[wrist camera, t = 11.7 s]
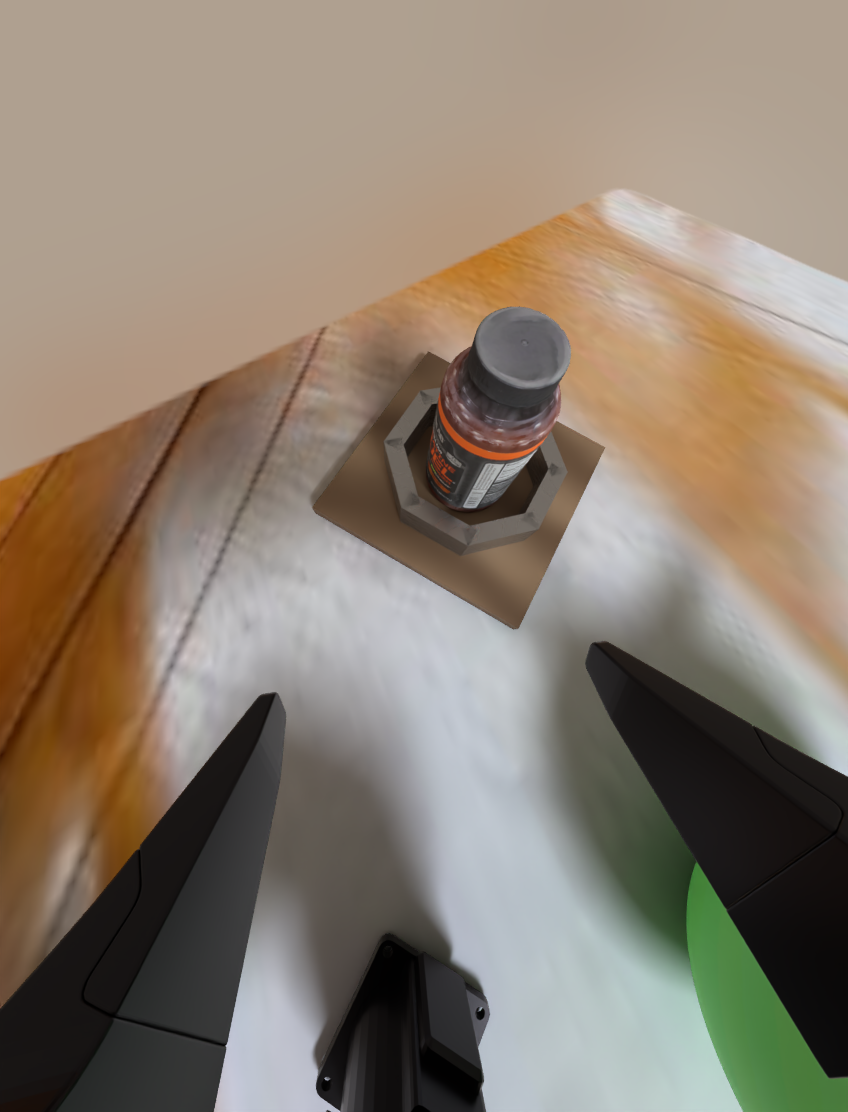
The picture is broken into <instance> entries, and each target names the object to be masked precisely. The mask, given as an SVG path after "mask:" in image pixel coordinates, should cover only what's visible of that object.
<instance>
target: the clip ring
mask: <svg viewBox="0 0 848 1112" xmlns="http://www.w3.org/2000/svg"><path fill="white" fill-rule="evenodd" d="M440 389H441V387H440V388H434V389H428V390H422V391H421V390H420V392H419V393H418V395H417V396H416V397H415V399H414V400H413V401H412V403H411V404H410V406H409V407H408V408H407V410H406V411H405V413H404V414H403V415H402V417H401V418H400V420H399V421H398V422H397V424H396V425H395V426H394V428H393V429H392V431H391V432H390V433H389V435H388V436H387V438H386V439H385V440H384V442H383V443H384V461H385V464H386V468H387V472H388V476H389V479H390V483H391V487H392V491H393V495H394V498H395V502H396V506H397V510H398V514H399V517H400V522H402V523H404V524H405V525H407V526H409V527H411V528H412V529H414V530H416V531H418V532H419V533H421V534H423V535H424V536H426V537H428V538H430V539H431V540H433V541H435V542H437V543H438V544H440V545H442V546H443V547H445V548H447V549H449V550H450V551H452V552H454V553H456V554H457V555H459V556H463V555H467V554H471V553H475V552H479V551H483V550H487V549H492V548H496V547H500V546H504V545H508V544H512V543H516V542H521V541H524V540H526V539H527V538H528V537H529V536H531V535H532V534H533V533H535V532H536V531H537V530H538V529H539V527H540V525H541V523H542V521H543V519H544V517H545V516H546V514H547V512H548V510H549V508H550V506H551V504H552V502H553V500H554V498H555V496H556V494H557V492H558V490H559V488H560V486H561V484H562V482H563V480H564V478H565V476H566V474H567V473H568V471H567V469H566V467H565V464H564V462H563V459H562V457H561V454H560V452H559V450H558V447H557V445H556V442H555V440H554V437H553V435H552V432H550V433H549V434H548V436H547V437H546V438H545V440H544V441H543V443H542V444H541V445H540V447H539V448H538V449H537V450H536V452H535V453H534V454H533V456H532V457H531V458H530V459H529V461H528V462H527V463H526V464H525V465H526V468H527V470H528V473H529V476H530V478H531V481H532V484H533V488H532V490H531V491H530V493H529V495H528V497H527V499H526V501H525V503H524V505H523V506H522V508H521V510H520V512H519V514H518V515H515V516H511V517H507V518H502V519H498V520H494V521H489V522H485V523H480V524H476V525H472V526H469V525H468V524H466V523H464V522H462V521H461V520H459V519H457V518H455V517H454V516H452V515H450V514H448V513H447V512H445V511H443V510H441V509H440V508H438V507H436V506H434V505H433V504H431V503H429V502H427V501H426V500H424V499H422V498H420V497H419V496H418V494H417V491H416V487H415V483H414V480H413V476H412V473H411V469H410V466H409V462H408V459H407V458H408V456H409V455H410V453H411V452H412V450H413V449H414V447H415V446H416V444H417V443H418V442H419V440H420V439H421V437H422V436H423V434H424V433H425V431H426V430H427V428H428V427H433V425H434V419H435V414H436V409H437V403H438V398H439V394H440Z"/></svg>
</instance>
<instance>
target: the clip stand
mask: <svg viewBox="0 0 848 1112" xmlns="http://www.w3.org/2000/svg"><path fill="white" fill-rule="evenodd" d="M450 364H451V363H449V362H447V361H445V360H443V359H441V358H440V357H438V356H436V355H434V354H432V353H430V352H428V353H427V354H426V355H425V357H424V358H423V359H422V361H421V362H420V363H419V365H418V366H417V367H416V369H415V370H414V371H413V373H412V374H411V376H410V377H409V378H408V380H407V381H406V382H405V384H404V385H403V386H402V388H401V389H400V390H399V392H398V393H397V394H396V396H395V397H394V398H393V400H392V401H391V402H390V404H389V405H388V406H387V408H386V409H385V410H384V412H383V413H382V414H381V416H380V417H379V418H378V420H377V421H376V422H375V424H374V425H373V426H372V428H371V429H370V430H369V432H368V433H367V435H366V436H365V437H364V439H363V440H362V441H361V443H360V444H359V445H358V447H357V448H356V449H355V451H354V452H353V453H352V455H351V456H350V457H349V459H348V460H347V461H346V463H345V464H344V465H343V467H342V468H341V469H340V471H339V472H338V473H337V475H336V476H335V477H334V479H333V480H332V481H331V483H330V484H329V485H328V487H327V488H326V489H325V491H324V492H323V494H322V495H321V496H320V498H319V499H318V500H317V502H316V503H315V504H314V506H313V507H312V508H313V510H314V511H315V513H316V514H318V515H320V516H321V517H323V518H325V519H326V520H328V521H330V522H332V523H333V524H335V525H337V526H338V527H340V528H342V529H343V530H345V531H347V532H349V533H350V534H352V535H354V536H355V537H357V538H359V539H361V540H362V541H364V542H366V543H367V544H369V545H371V546H372V547H374V548H376V549H378V550H379V551H381V552H383V553H384V554H386V555H388V556H389V557H391V558H393V559H395V560H396V561H398V562H400V563H401V564H403V565H405V566H406V567H408V568H410V569H412V570H413V571H415V572H417V573H418V574H420V575H422V576H424V577H425V578H427V579H429V580H430V581H432V582H434V583H435V584H437V585H439V586H441V587H442V588H444V589H446V590H447V591H449V592H451V593H452V594H454V595H456V596H458V597H459V598H461V599H463V600H464V601H466V602H468V603H469V604H471V605H473V606H475V607H476V608H478V609H480V610H481V611H483V612H485V613H486V614H488V615H490V616H492V617H493V618H495V619H497V620H498V621H500V622H502V623H504V624H505V625H507V626H509V627H510V628H512V629H518V628H519V626H520V624H521V622H522V620H523V618H524V616H525V614H526V612H527V610H528V607H529V605H530V603H531V601H532V599H533V597H534V595H535V593H536V591H537V589H538V587H539V585H540V582H541V580H542V578H543V576H544V574H545V572H546V570H547V568H548V566H549V564H550V562H551V559H552V557H553V555H554V553H555V551H556V549H557V547H558V545H559V543H560V541H561V539H562V537H563V534H564V532H565V530H566V528H567V526H568V524H569V522H570V520H571V518H572V516H573V514H574V512H575V509H576V507H577V505H578V503H579V501H580V499H581V497H582V495H583V493H584V491H585V489H586V486H587V484H588V482H589V480H590V478H591V476H592V474H593V472H594V470H595V468H596V466H597V464H598V461H599V459H600V457H601V455H602V453H603V451H604V449H605V447H603V446H601V445H600V444H598V443H596V442H594V441H592V440H590V439H589V438H587V437H585V436H583V435H581V434H579V433H578V432H576V431H574V430H572V429H570V428H568V427H567V426H565V425H563V424H561V423H559V422H557V421H556V423H555V425H554V427H553V428H552V430H551V432H552V435H553V437H554V440H555V442H556V445H557V447H558V450H559V452H560V454H561V457H562V459H563V462H564V464H565V467H566V469H567V471H568V473H567V474H566V476H565V478H564V480H563V482H562V484H561V486H560V488H559V490H558V492H557V494H556V496H555V498H554V500H553V502H552V504H551V506H550V508H549V510H548V512H547V514H546V516H545V517H544V519H543V521H542V523H541V525H540V527H539V529H538V530H537V531H536V532H535V533H533V534H532V535H531V536H529V537H528V538H527V539H526V540H524V541H521V542H516V543H512V544H508V545H504V546H500V547H496V548H492V549H487V550H483V551H479V552H475V553H471V554H467V555H463V556H459V555H457V554H456V553H454V552H452V551H450V550H449V549H447V548H445V547H443V546H442V545H440V544H438V543H437V542H435V541H433V540H431V539H430V538H428V537H426V536H424V535H423V534H421V533H419V532H418V531H416V530H414V529H412V528H411V527H409V526H407V525H405V524H404V523H402V522H400V517H399V514H398V510H397V506H396V502H395V498H394V495H393V491H392V487H391V483H390V479H389V476H388V472H387V468H386V464H385V461H384V443H383V442H384V440H385V439H386V438H387V436H388V435H389V433H390V432H391V431H392V429H393V428H394V426H395V425H396V424H397V422H398V421H399V420H400V418H401V417H402V415H403V414H404V413H405V411H406V410H407V408H408V407H409V406H410V404H411V403H412V401H413V400H414V399H415V397H416V396H417V395H418V393H419V392H420V390H421V391H422V390H428V389H434V388H440V387H441V384H442V381H443V378H444V375H445V373H446V370H447V368H448V367H449V365H450ZM432 430H433V427H428V428H427V430H426V431H425V433H424V434H423V436H422V437H421V439H420V440H419V442H418V443H417V444H416V446H415V447H414V449H413V450H412V452H411V453H410V455H409V456H408V458H407V459H408V462H409V466H410V469H411V473H412V476H413V480H414V483H415V487H416V491H417V494H418V496H419V497H420V498H422V499H424V500H426V501H427V502H429V503H431V504H433V505H434V506H436V507H438V508H440V509H441V510H443V511H445V512H447V513H448V514H450V515H452V516H454V517H455V518H457V519H459V520H461V521H462V522H464V523H466V524H468V525H469V526H472V525H476V524H480V523H485V522H489V521H494V520H498V519H502V518H507V517H511V516H515V515H518V514H519V512H520V510H521V508H522V506H523V505H524V503H525V501H526V499H527V497H528V495H529V493H530V491H531V490H532V488H533V484H532V481H531V478H530V476H529V473H528V470H527V468H526V465H525V466H524V468H523V469H522V470H521V471H520V472H519V474H518V475H517V476H516V478H515V479H514V480H513V481H512V483H511V484H510V485H509V487H508V488H507V489H506V491H505V492H504V493H503V495H502V496H501V497H500V498H499V499H498V500H497V501H496V502H495V503H494V504H493V505H491V506H490V507H488V508H486V509H484V510H481V511H477V512H461V511H456V510H453V509H450V508H448V507H447V506H445V505H444V504H442V503H441V502H440V501H439V500H438V499H437V498H436V497H435V496H434V495H433V493H432V492H431V490H430V488H429V486H428V483H427V479H426V460H427V456H428V450H429V446H430V440H431V436H432Z"/></svg>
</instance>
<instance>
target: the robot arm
mask: <svg viewBox="0 0 848 1112" xmlns="http://www.w3.org/2000/svg"><path fill="white" fill-rule="evenodd" d="M585 664H586V669H587V671H588V673H589V675H590V677H591V679H592V682H593V684H594V686H595V688H596V690H597V692H598V694H599V696H600V698H601V700H602V702H603V704H604V706H605V709H606V711H607V713H608V714H609V716H610V718H611V720H612V722H613V724H614V725H615V727H616V729H617V730H618V732H619V734H620V735H621V737H622V739H623V740H624V742H625V744H626V745H627V747H628V749H629V750H630V752H631V754H632V755H633V757H634V759H635V760H636V762H637V763H638V765H639V767H640V768H641V770H642V772H643V773H644V775H645V777H646V778H647V780H648V782H649V783H650V785H651V787H652V788H653V790H654V792H655V793H656V795H657V797H658V798H659V800H660V802H661V803H662V805H663V807H664V808H665V810H666V812H667V813H668V815H669V816H670V818H671V820H672V821H673V823H674V825H675V826H676V828H677V830H678V831H679V833H680V835H681V836H682V838H683V840H684V841H685V843H686V845H687V846H688V848H689V850H690V851H691V853H692V855H693V856H694V858H695V860H696V861H697V863H698V865H699V866H700V868H701V870H702V871H703V873H704V874H705V876H706V878H707V879H708V881H709V883H710V884H711V886H712V888H713V889H714V891H715V893H716V894H717V896H718V898H719V899H720V901H721V903H722V904H723V906H724V907H725V908H726V911H727V913H728V915H729V916H730V918H731V920H732V921H733V923H734V925H735V926H736V928H737V930H738V931H739V933H740V935H741V936H742V938H743V940H744V941H745V943H746V945H747V946H748V948H749V949H750V951H751V953H752V954H753V956H754V958H755V959H756V961H757V963H758V964H759V966H760V968H761V969H762V971H763V973H764V974H765V976H766V978H767V979H768V981H769V983H770V984H771V986H772V988H773V989H774V991H775V993H776V994H777V996H778V997H779V999H780V1001H781V1002H782V1004H783V1006H784V1007H785V1009H786V1011H787V1012H788V1014H789V1016H790V1017H791V1019H792V1021H793V1022H794V1024H795V1026H796V1027H797V1029H798V1031H799V1032H800V1034H801V1036H802V1037H803V1039H804V1041H805V1042H806V1044H807V1045H808V1047H809V1049H810V1050H811V1052H812V1054H813V1055H814V1057H815V1059H816V1060H817V1062H818V1063H819V1065H820V1067H821V1068H822V1069H823V1071H824V1072H825V1074H826V1075H827V1077H828V1078H829V1079H838V1078H848V776H846V775H844V774H842V773H840V772H838V771H836V770H834V769H832V768H830V767H828V766H826V765H824V764H823V763H821V762H819V761H817V760H815V759H813V758H811V757H809V756H807V755H805V754H804V753H802V752H800V751H798V750H796V749H795V748H793V747H791V746H789V745H787V744H786V743H784V742H782V741H780V740H778V739H777V738H775V737H773V736H771V735H769V734H768V733H766V732H764V731H763V730H761V729H759V728H757V727H755V726H752V725H751V724H750V723H748V722H747V721H745V720H743V719H741V718H740V717H738V716H736V715H734V714H733V713H731V712H729V711H727V710H726V709H724V708H722V707H721V706H719V705H717V704H715V703H714V702H712V701H710V700H708V699H707V698H705V697H703V696H701V695H700V694H698V693H696V692H694V691H693V690H691V689H689V688H687V687H686V686H684V685H682V684H680V683H679V682H677V681H675V680H673V679H672V678H670V677H668V676H666V675H665V674H663V673H661V672H659V671H658V670H656V669H654V668H653V667H651V666H649V665H647V664H646V663H644V662H642V661H640V660H639V659H637V658H635V657H633V656H632V655H630V654H628V653H626V652H625V651H623V650H621V649H619V648H618V647H616V646H614V645H612V644H611V643H609V642H606V641H600V642H594V643H592V644H591V645H590V648H589V651H588V655H587V658H586V662H585ZM285 724H286V712H285V709H284V706H283V704H282V702H281V699H280V697H279V695H278V693H276V692H273V693H266V694H262V695H260V696H259V697H258V698H257V699H256V700H255V702H254V703H253V704H252V706H251V707H250V708H249V709H248V711H247V712H246V713H245V714H244V716H243V717H242V718H241V719H240V721H239V722H238V723H237V724H236V726H235V727H234V728H233V729H232V731H231V732H230V733H229V734H228V736H227V737H226V738H225V739H224V741H223V742H222V743H221V744H220V746H219V747H218V748H217V749H216V751H215V752H214V753H213V754H212V756H211V757H210V758H209V760H208V761H207V762H206V763H205V765H204V766H203V767H202V768H201V770H200V771H199V772H198V773H197V775H196V776H195V777H194V778H193V780H192V781H191V782H190V783H189V785H188V786H187V787H186V788H185V790H184V791H183V792H182V793H181V795H180V796H179V797H178V798H177V800H176V801H175V802H174V803H173V805H172V806H171V807H170V808H169V810H168V811H167V812H166V814H165V815H164V816H163V817H162V819H161V820H160V821H159V822H158V824H157V825H156V826H155V827H154V829H153V830H152V831H151V832H150V834H149V835H148V836H147V837H146V839H145V840H144V841H143V842H142V844H141V845H140V850H139V849H138V850H136V851H135V852H134V853H133V855H132V856H131V857H130V858H129V860H128V861H127V862H126V864H125V865H124V866H123V867H122V869H121V870H120V871H119V872H118V874H117V875H116V876H115V877H114V878H113V880H112V881H111V882H110V883H109V884H108V886H107V887H106V888H105V889H104V891H103V892H102V893H101V894H100V895H99V897H98V898H97V899H96V900H95V902H94V903H93V904H92V905H91V906H90V908H89V909H88V910H87V911H86V912H85V913H84V914H83V916H82V917H81V918H80V919H79V920H78V921H77V923H76V924H75V925H74V926H73V927H72V928H71V929H70V931H69V932H68V933H67V934H66V935H65V936H64V938H63V939H62V940H61V941H60V942H59V943H58V944H57V946H56V947H55V948H54V949H53V950H52V951H51V952H50V953H49V955H48V956H47V957H46V958H45V959H44V960H43V961H42V962H41V964H40V965H39V966H38V967H37V968H36V969H35V970H34V971H33V973H32V974H31V975H30V976H29V977H28V978H27V979H26V980H25V982H24V983H23V984H22V985H21V986H20V987H19V988H18V989H17V991H16V992H15V993H14V994H13V995H12V996H11V997H10V998H9V1000H8V1001H7V1002H6V1003H5V1004H4V1005H3V1006H2V1007H1V1009H0V1112H214V1108H215V1103H216V1098H217V1093H218V1088H219V1083H220V1078H221V1073H222V1068H223V1063H224V1058H225V1053H226V1044H227V1042H228V1037H229V1032H230V1027H231V1022H232V1017H233V1012H234V1007H235V1002H236V997H237V992H238V987H239V982H240V977H241V972H242V967H243V962H244V958H245V953H246V948H247V943H248V938H249V933H250V928H251V923H252V918H253V913H254V908H255V903H256V898H257V893H258V888H259V883H260V878H261V873H262V868H263V863H264V858H265V853H266V848H267V843H268V838H269V833H270V828H271V824H272V819H273V814H274V809H275V804H276V799H277V794H278V788H279V783H280V775H281V766H282V755H283V745H284V734H285ZM386 946H391V948H392V949H391V950H390V951H385V950H384V948H385V947H386ZM478 1007H483V1008H482V1010H481V1011H479V1012H478V1011H476V1009H477V1008H478ZM489 1015H490V1012H489V1006H488V1002H487V999H486V997H485V996H484V995H483V994H482V993H481V992H479V991H478V990H476V989H474V988H473V987H471V986H470V985H468V984H467V983H465V982H464V979H463V977H462V976H460V975H459V974H457V973H455V972H454V971H452V970H451V969H449V968H448V967H446V966H445V965H443V964H442V963H440V962H439V961H437V960H436V959H434V958H433V957H431V956H430V955H428V954H427V953H425V952H418V951H417V950H415V949H414V948H412V947H411V946H409V945H408V944H406V943H405V942H403V941H402V940H400V939H399V938H397V937H396V936H394V935H393V934H390V933H389V934H385V935H383V936H382V937H381V939H380V941H379V943H378V945H377V947H376V949H375V951H374V953H373V955H372V958H371V960H370V962H369V964H368V966H367V968H366V970H365V972H364V975H363V977H362V979H361V981H360V983H359V985H358V987H357V989H356V991H355V994H354V996H353V998H352V1000H351V1002H350V1004H349V1006H348V1008H347V1011H346V1013H345V1015H344V1017H343V1019H342V1021H341V1023H340V1025H339V1028H338V1030H337V1032H336V1034H335V1036H334V1038H333V1040H332V1042H331V1044H330V1047H329V1049H328V1051H327V1053H326V1055H325V1057H324V1059H323V1061H322V1064H321V1066H320V1068H319V1071H318V1076H317V1082H316V1090H317V1093H318V1095H319V1096H320V1097H321V1098H322V1099H324V1100H325V1101H327V1102H328V1103H330V1104H331V1105H332V1106H334V1107H335V1108H337V1109H338V1110H340V1111H341V1112H486V1109H485V1103H484V1098H483V1093H482V1085H483V1083H484V1075H483V1070H482V1065H481V1060H480V1055H479V1050H478V1046H479V1044H480V1041H481V1038H482V1036H483V1033H484V1030H485V1028H486V1025H487V1022H488V1020H489ZM325 1077H330V1078H331V1080H328V1081H327V1080H325V1079H324V1078H325ZM326 1112H331V1111H328V1110H327V1111H326Z"/></svg>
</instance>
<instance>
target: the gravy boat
mask: <svg viewBox="0 0 848 1112" xmlns="http://www.w3.org/2000/svg"><path fill="white" fill-rule="evenodd" d="M686 927H687V943H688V952H689V959H690V965H691V971H692V976H693V980H694V985H695V989H696V993H697V997H698V1000H699V1004H700V1007H701V1011H702V1014H703V1017H704V1020H705V1023H706V1026H707V1029H708V1032H709V1035H710V1037H711V1040H712V1043H713V1045H714V1048H715V1050H716V1053H717V1055H718V1058H719V1060H720V1063H721V1065H722V1067H723V1070H724V1072H725V1074H726V1077H727V1079H728V1081H729V1083H730V1085H731V1088H732V1090H733V1092H734V1094H735V1096H736V1098H737V1100H738V1102H739V1104H740V1106H741V1108H742V1110H743V1112H848V1078H838V1079H829V1078H828V1077H827V1075H826V1074H825V1072H824V1071H823V1069H822V1068H821V1067H820V1065H819V1063H818V1062H817V1060H816V1059H815V1057H814V1055H813V1054H812V1052H811V1050H810V1049H809V1047H808V1045H807V1044H806V1042H805V1041H804V1039H803V1037H802V1036H801V1034H800V1032H799V1031H798V1029H797V1027H796V1026H795V1024H794V1022H793V1021H792V1019H791V1017H790V1016H789V1014H788V1012H787V1011H786V1009H785V1007H784V1006H783V1004H782V1002H781V1001H780V999H779V997H778V996H777V994H776V993H775V991H774V989H773V988H772V986H771V984H770V983H769V981H768V979H767V978H766V976H765V974H764V973H763V971H762V969H761V968H760V966H759V964H758V963H757V961H756V959H755V958H754V956H753V954H752V953H751V951H750V949H749V948H748V946H747V945H746V943H745V941H744V940H743V938H742V936H741V935H740V933H739V931H738V930H737V928H736V926H735V925H734V923H733V921H732V920H731V918H730V916H729V915H728V913H727V911H726V908H725V907H724V906H723V904H722V903H721V901H720V899H719V898H718V896H717V894H716V893H715V891H714V889H713V888H712V886H711V884H710V883H709V881H708V879H707V878H706V876H705V874H704V873H703V871H702V870H701V868H700V866H699V865H698V863H697V861H696V864H695V866H694V869H693V873H692V876H691V880H690V885H689V891H688V899H687V913H686Z"/></svg>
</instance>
